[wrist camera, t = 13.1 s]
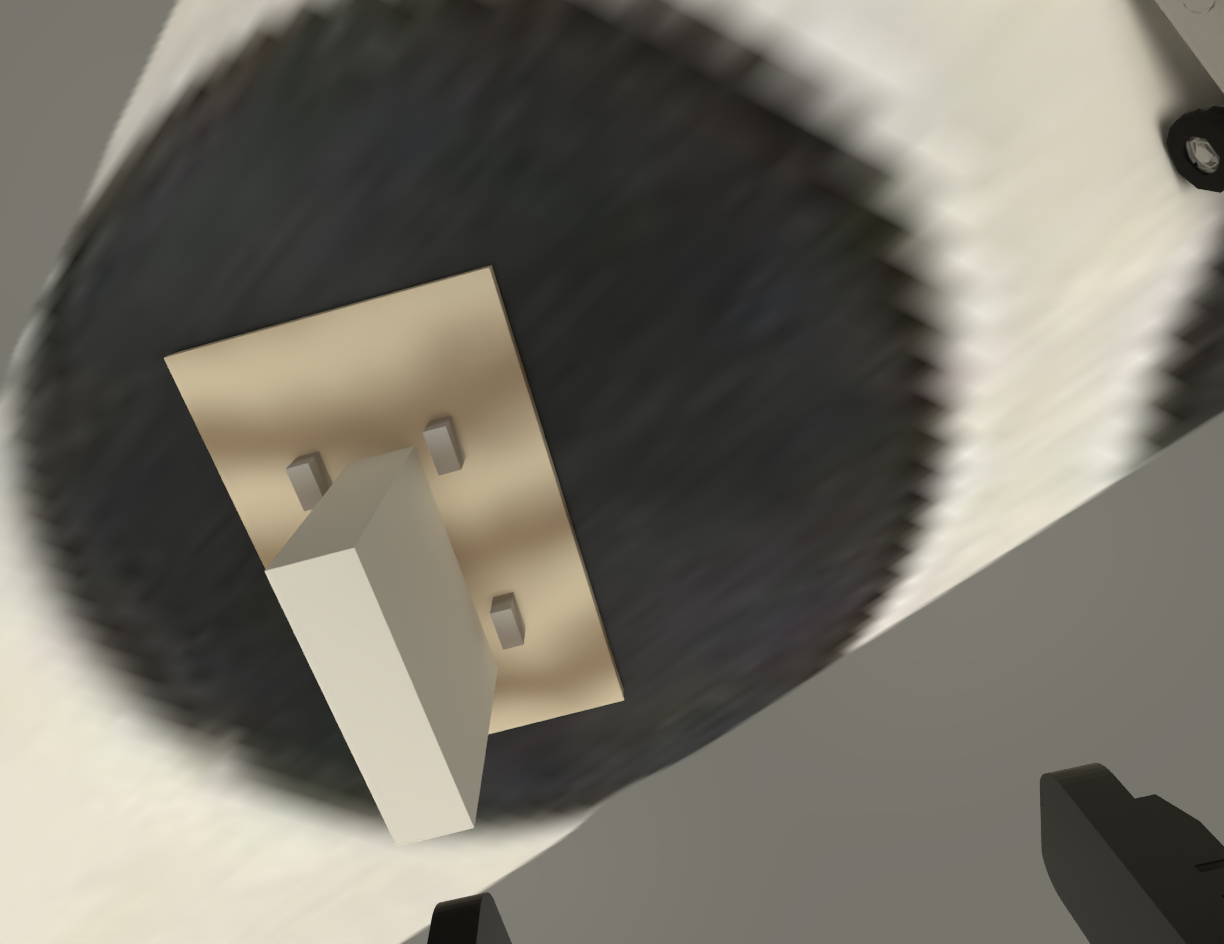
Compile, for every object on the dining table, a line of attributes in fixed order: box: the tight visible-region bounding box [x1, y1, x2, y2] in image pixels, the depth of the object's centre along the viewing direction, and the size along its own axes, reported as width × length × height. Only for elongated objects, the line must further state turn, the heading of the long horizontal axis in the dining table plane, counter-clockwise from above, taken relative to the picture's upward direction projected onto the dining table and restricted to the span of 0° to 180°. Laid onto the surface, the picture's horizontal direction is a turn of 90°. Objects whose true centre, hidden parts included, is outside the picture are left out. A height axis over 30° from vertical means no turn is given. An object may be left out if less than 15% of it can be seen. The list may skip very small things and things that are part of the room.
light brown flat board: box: [164, 265, 624, 734], centre depth 35 cm, size 22×14×2 cm, turn 15°
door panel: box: [265, 446, 498, 847], centre depth 31 cm, size 12×4×10 cm, turn 15°
